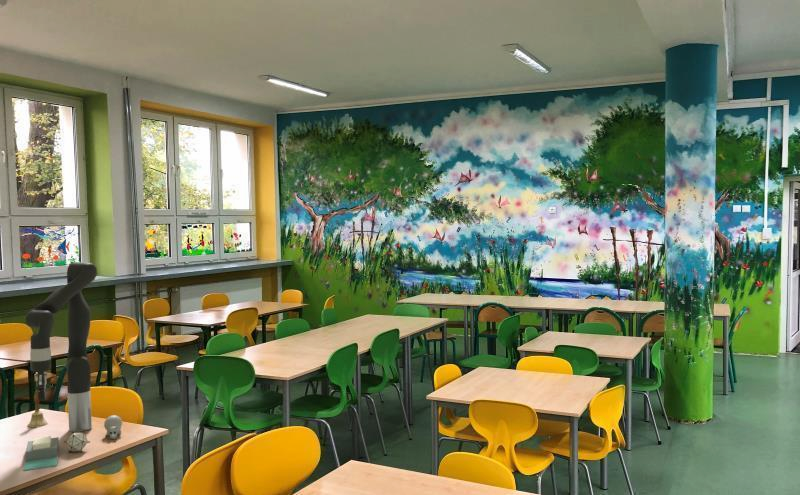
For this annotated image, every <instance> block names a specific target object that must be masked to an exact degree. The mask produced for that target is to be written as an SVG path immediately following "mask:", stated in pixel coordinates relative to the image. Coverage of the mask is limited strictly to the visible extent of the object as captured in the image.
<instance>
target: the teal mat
mask: <svg viewBox="0 0 800 495" xmlns="http://www.w3.org/2000/svg"><path fill="white" fill-rule="evenodd" d="M24 462H25V463H24V467H23V471H24V472H26V471H34V470H37V469H38V470H39V469H46V468H51V467H56V466H57V465H58V457H53V458H47V459H40V460H34V461H27V462H26V461H24Z"/></svg>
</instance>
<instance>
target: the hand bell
mask: <svg viewBox="0 0 800 495" xmlns="http://www.w3.org/2000/svg"><path fill="white" fill-rule="evenodd" d="M33 402H34V406H35V407H34V410H35V411H33V412H32V414H31V418H30V421H29V423H27V427H28V428H38V427H43V426H46V425H48V422H49V421H46V419H45V417H44V413H43V411H40V402H41V401H39V392H38V390H35V391H34V395H33Z"/></svg>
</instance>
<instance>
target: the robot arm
mask: <svg viewBox="0 0 800 495" xmlns="http://www.w3.org/2000/svg"><path fill="white" fill-rule="evenodd" d="M97 275H98V269H97V266H96V265H95V264H93V263H91V262H80V261H76V262H75V261H73V262H70V264H69V265H68V267H67V270H66V280H67V281H66V284H64V285H63V286H60V287H58V288H57V289H56V290H54V291H53V292H52V293H51V294H50V295H49V296H48V297H47V298H46V299H45V300H44V301H43V302H40V303H39V304H37V305H36V306H34V307H32V308H31V309H30V310H28V312H27V314H26V315H25V319H24V320H25V321H24V322H25V325H26V326H28V327H30V328H38V332H36V333H33V334H32V335H31V336H30V351H29V352H30V354H29V356H30V357H29V358H30V359H29V360H30V362H29V363H30V371H32V372H34V373H35V372H37V374H36V375H35V382H36V387H37V390H38V392H39V401H40V402H41V401H45V400H46V390H47V388H46V386H47V377H48V373H46V372H47V371H49V370H51V369H52V350H51V340H50V339H51V334H52V329H53V328H54V327H53V326H54V321H55V320H54V319H55V318H54V314H57V313H58V312H59V311H60V310H61V309H62V308H63V307H64V306H65V305H67V308H68V309H67V338H68V349H67V350H68V351H67V358H66V362H65V368H66V371H67V410H68V412H67V413H68V414H67V415H68V430H69V432H72V431H73V432H74V433H80V432H84V431H85V432H86V431H88V430H92V429H93V427H92V426H93V425H92V402H91V401H92V400H91V398H92V397H91V383H92V378H91V374H92V373H91V363H90V361H89V359H88V354H87V353H88V350H87V343H88V336H89V333H90V328H91V310H90V306H89V305H88V303H87V301H86V300H85V298H84V296H83V292H82V290H83V289H84V288H86V287H87V286H88V285H89V284H91V283H92V282H94V280H95V279H96V278H97ZM67 303H68V304H67Z"/></svg>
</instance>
